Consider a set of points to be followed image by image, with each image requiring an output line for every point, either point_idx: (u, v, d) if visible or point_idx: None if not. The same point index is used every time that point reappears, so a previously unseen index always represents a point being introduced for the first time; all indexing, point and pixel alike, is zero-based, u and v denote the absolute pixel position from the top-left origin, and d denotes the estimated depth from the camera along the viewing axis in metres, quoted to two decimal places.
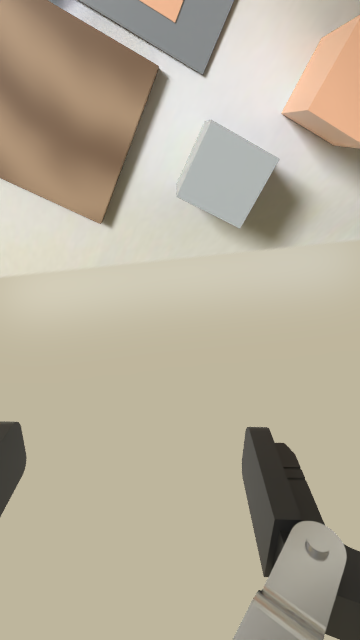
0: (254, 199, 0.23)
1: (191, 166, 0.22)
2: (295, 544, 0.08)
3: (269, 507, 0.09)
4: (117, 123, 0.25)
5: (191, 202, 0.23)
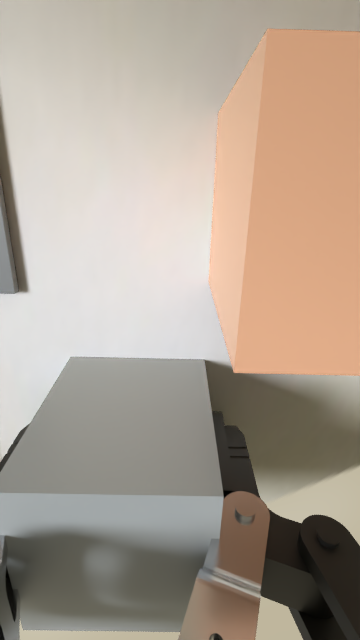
0: None
1: (13, 578, 0.08)
2: (224, 510, 0.08)
3: None
4: None
5: (63, 628, 0.09)
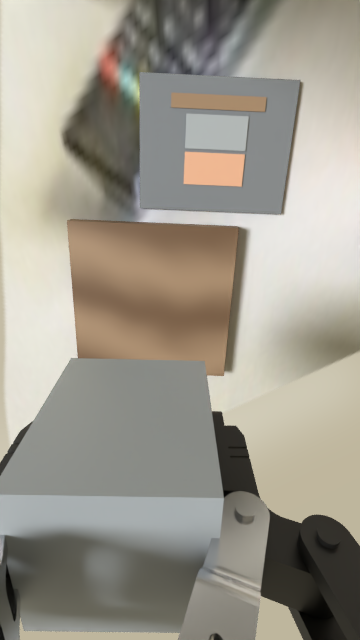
0: None
1: (14, 579, 0.08)
2: (224, 511, 0.08)
3: None
4: (214, 288, 0.26)
5: (64, 629, 0.09)
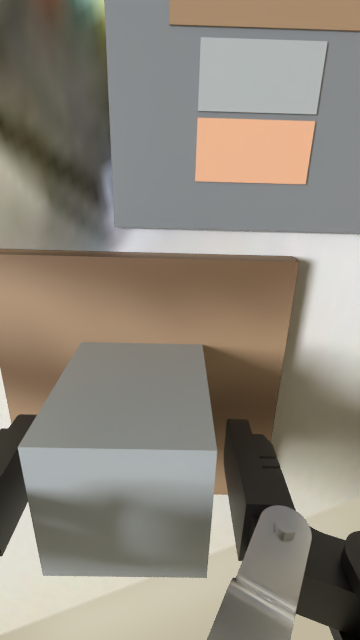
0: (205, 529, 0.10)
1: (36, 526, 0.10)
2: (263, 527, 0.08)
3: (242, 493, 0.09)
4: (251, 364, 0.15)
5: (78, 573, 0.10)
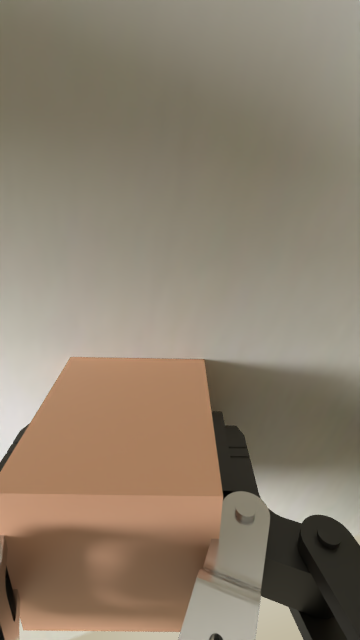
0: None
1: None
2: (225, 511, 0.08)
3: None
4: None
5: None
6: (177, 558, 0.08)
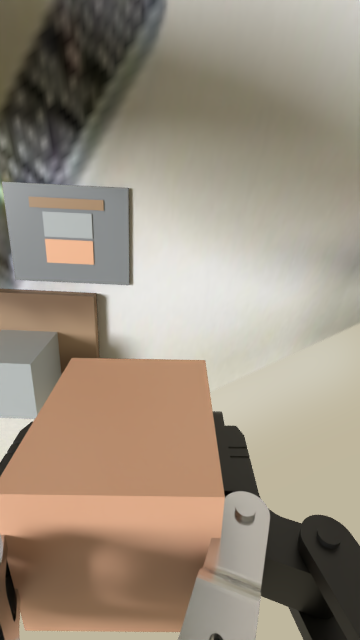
0: (32, 396, 0.27)
1: None
2: (225, 511, 0.08)
3: None
4: (81, 342, 0.32)
5: None
6: (178, 558, 0.08)
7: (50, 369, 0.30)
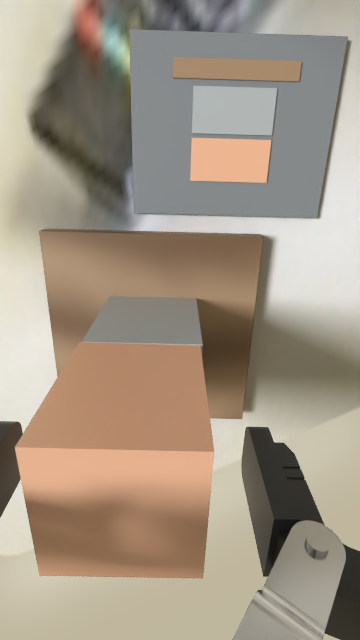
0: None
1: None
2: (294, 544, 0.08)
3: (268, 507, 0.09)
4: (231, 313, 0.20)
5: None
6: (174, 508, 0.09)
7: None
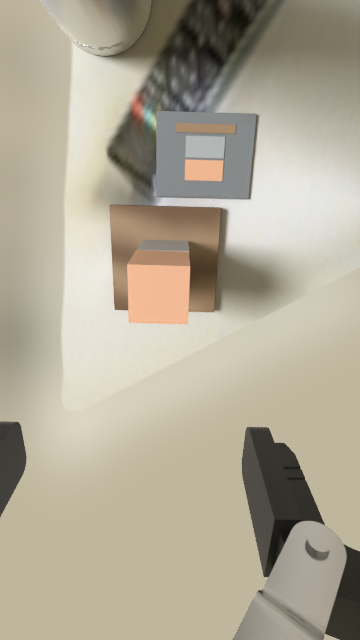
0: None
1: None
2: (295, 544, 0.08)
3: (269, 507, 0.09)
4: (206, 249, 0.39)
5: None
6: (177, 290, 0.28)
7: None
